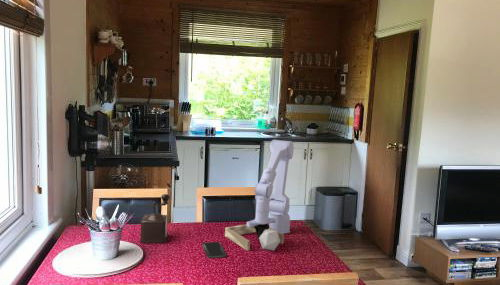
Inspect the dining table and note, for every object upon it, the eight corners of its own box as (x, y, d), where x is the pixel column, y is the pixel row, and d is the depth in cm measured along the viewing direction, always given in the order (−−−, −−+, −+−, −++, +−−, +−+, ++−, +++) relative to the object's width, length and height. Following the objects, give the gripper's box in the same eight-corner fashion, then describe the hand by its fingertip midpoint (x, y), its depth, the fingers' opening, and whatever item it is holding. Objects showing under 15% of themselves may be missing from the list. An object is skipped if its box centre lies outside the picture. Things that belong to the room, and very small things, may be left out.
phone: (207, 256, 160) (201, 242, 174) (207, 259, 160) (201, 245, 174) (227, 255, 162) (220, 241, 176) (227, 258, 162) (219, 244, 176)
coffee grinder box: (166, 243, 173) (167, 202, 171) (139, 243, 172) (140, 201, 170) (169, 231, 188) (170, 193, 186) (144, 230, 187) (145, 192, 185)
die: (282, 248, 176) (274, 227, 179) (283, 245, 168) (274, 223, 171) (264, 255, 175) (256, 234, 178) (264, 252, 167) (256, 230, 170)
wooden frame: (259, 230, 196) (259, 222, 196) (283, 243, 180) (284, 234, 180) (224, 236, 186) (225, 227, 185) (247, 250, 170) (247, 241, 169)
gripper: (270, 206, 184) (268, 235, 186) (243, 209, 176) (241, 240, 178) (279, 210, 178) (277, 240, 180) (252, 214, 170) (250, 245, 172)
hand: (260, 240), depth 178 cm, fingers closed
